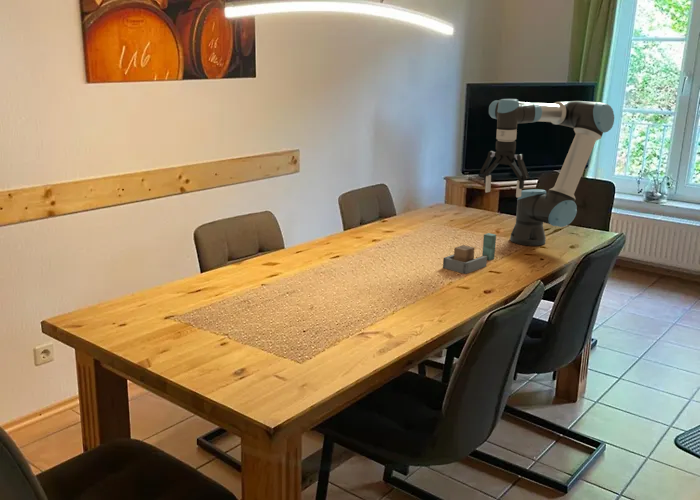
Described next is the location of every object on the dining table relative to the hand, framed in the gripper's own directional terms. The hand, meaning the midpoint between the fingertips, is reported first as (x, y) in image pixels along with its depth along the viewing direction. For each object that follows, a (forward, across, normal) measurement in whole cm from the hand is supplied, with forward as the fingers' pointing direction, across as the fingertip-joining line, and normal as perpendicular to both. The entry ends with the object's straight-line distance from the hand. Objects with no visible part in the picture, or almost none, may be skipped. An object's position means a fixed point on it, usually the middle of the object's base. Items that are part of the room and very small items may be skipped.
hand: (502, 194), depth 271 cm
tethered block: (+26, -3, -14) cm, 29 cm away
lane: (+26, -3, -21) cm, 33 cm away
